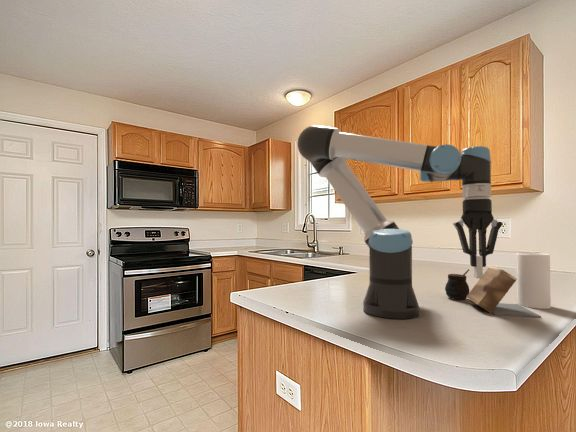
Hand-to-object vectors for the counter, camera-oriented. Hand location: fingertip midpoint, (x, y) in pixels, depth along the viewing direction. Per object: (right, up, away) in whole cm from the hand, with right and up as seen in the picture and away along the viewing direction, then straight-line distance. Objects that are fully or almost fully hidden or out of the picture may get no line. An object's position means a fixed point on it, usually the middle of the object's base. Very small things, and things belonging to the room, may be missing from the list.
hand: (478, 277), depth 95 cm
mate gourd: (0, -10, +12) cm, 16 cm away
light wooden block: (0, -8, 0) cm, 8 cm away
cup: (+19, -10, +4) cm, 22 cm away
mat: (+7, -9, -2) cm, 12 cm away
